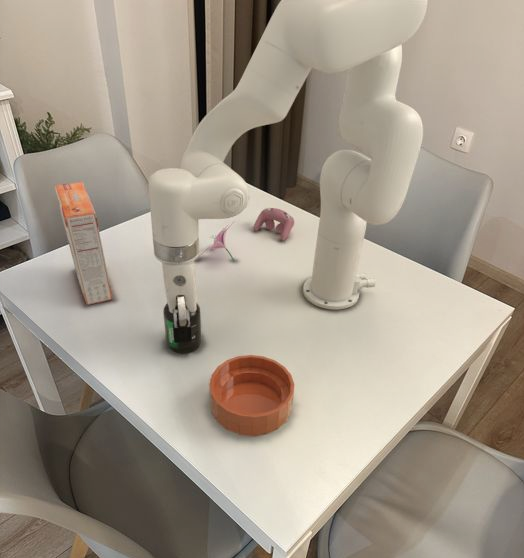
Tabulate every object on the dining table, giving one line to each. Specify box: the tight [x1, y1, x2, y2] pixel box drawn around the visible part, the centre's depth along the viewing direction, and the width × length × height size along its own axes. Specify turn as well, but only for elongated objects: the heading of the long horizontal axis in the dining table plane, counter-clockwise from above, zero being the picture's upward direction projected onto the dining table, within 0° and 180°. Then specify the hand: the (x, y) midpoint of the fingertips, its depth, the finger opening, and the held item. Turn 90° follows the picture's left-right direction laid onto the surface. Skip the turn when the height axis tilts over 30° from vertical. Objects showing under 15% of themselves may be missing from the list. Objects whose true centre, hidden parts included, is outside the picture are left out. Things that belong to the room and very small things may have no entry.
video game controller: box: [253, 207, 295, 242], centre depth 133 cm, size 10×5×7 cm, turn 58°
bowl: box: [208, 354, 295, 437], centre depth 88 cm, size 14×14×6 cm
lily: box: [196, 222, 236, 262], centre depth 122 cm, size 12×12×10 cm
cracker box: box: [54, 181, 114, 306], centre depth 107 cm, size 14×6×21 cm, turn 24°
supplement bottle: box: [162, 296, 202, 355], centre depth 97 cm, size 7×7×12 cm
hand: (180, 324), depth 98 cm, fingers open, 9 cm apart
